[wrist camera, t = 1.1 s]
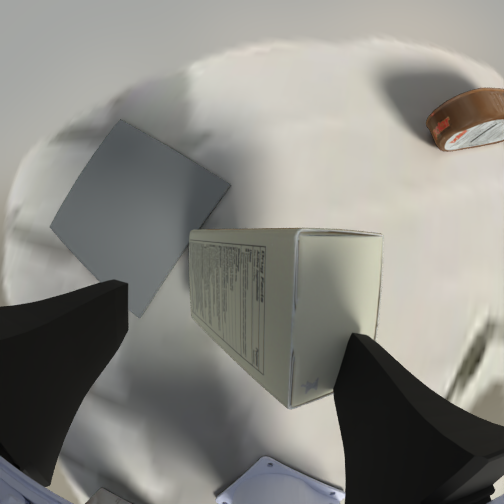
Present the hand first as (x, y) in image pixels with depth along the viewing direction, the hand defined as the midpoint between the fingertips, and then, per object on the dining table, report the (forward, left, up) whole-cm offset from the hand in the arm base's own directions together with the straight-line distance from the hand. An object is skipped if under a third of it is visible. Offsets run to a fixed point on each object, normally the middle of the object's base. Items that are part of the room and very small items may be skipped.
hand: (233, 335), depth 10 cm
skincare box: (+4, -1, -10) cm, 11 cm away
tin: (-9, -25, -12) cm, 29 cm away
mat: (+14, 0, -12) cm, 18 cm away
